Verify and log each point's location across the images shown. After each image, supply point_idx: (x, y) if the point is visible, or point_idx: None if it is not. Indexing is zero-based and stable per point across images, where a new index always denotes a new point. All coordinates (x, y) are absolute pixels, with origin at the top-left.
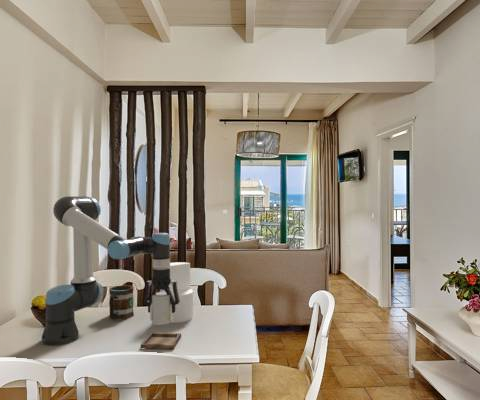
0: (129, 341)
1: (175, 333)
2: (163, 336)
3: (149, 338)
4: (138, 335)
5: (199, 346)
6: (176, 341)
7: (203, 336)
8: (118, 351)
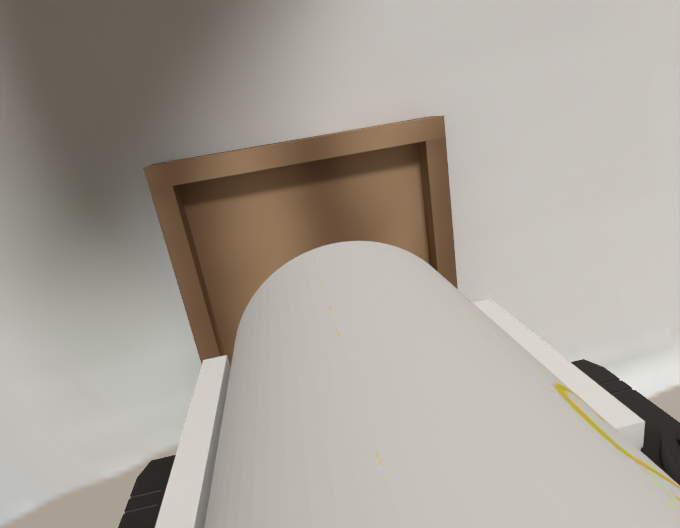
0: (34, 315)
1: (394, 134)
2: (284, 169)
3: (200, 272)
4: (8, 167)
5: (608, 256)
6: (453, 277)
7: (611, 52)
8: (94, 481)
